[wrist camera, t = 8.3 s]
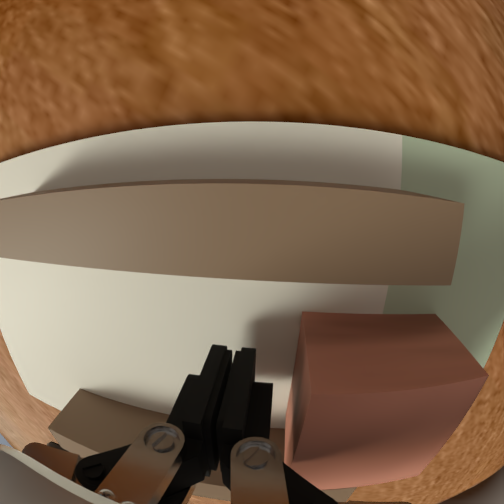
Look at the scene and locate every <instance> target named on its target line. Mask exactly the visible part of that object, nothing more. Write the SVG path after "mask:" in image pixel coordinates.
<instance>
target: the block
mask: <svg viewBox="0 0 504 504" xmlns="http://www.w3.org/2000/svg"><path fill="white" fill-rule="evenodd" d="M488 376H489V375H488V374H487V373H486V371H485V370H484V369H483V368H482V366H481V365H480V364H479V363H478V361H477V360H476V359H475V358H474V357H473V355H472V354H471V353H470V352H469V351H468V350H467V348H466V347H465V346H464V345H463V344H462V343H461V341H460V340H459V339H458V338H457V337H456V336H455V335H454V333H453V332H452V331H451V330H450V329H449V328H448V327H447V326H446V325H445V323H444V322H443V321H442V320H441V319H440V318H439V317H438V316H437V315H436V314H352V313H324V312H304V311H302V316H301V324H300V331H299V338H298V345H297V351H296V358H295V364H294V370H293V376H292V382H291V388H290V393H289V399H288V404H287V410H286V416H285V453H284V463H285V464H286V465H287V466H289V467H290V468H291V469H293V470H294V471H295V472H296V473H298V474H299V475H300V476H302V477H303V478H304V479H306V480H307V481H308V482H310V483H311V484H313V485H314V486H315V487H317V488H318V489H320V490H327V489H341V488H351V487H360V486H367V485H374V484H380V483H386V482H391V481H396V480H401V479H405V478H409V477H414V476H418V475H419V474H420V473H421V472H422V471H423V469H424V468H425V467H426V466H427V465H428V464H429V463H430V461H431V460H432V459H433V458H434V457H435V456H436V454H437V453H438V452H439V451H440V449H441V448H442V447H443V446H444V444H445V443H446V442H447V440H448V439H449V438H450V436H451V435H452V434H453V432H454V431H455V429H456V428H457V427H458V425H459V424H460V422H461V421H462V419H463V418H464V416H465V415H466V413H467V412H468V410H469V409H470V407H471V405H472V404H473V402H474V401H475V399H476V397H477V396H478V394H479V392H480V390H481V389H482V387H483V385H484V383H485V381H486V380H487V378H488Z"/></svg>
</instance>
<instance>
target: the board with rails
mask: <svg viewBox="0 0 504 504" xmlns="http://www.w3.org/2000/svg"><path fill="white" fill-rule="evenodd" d="M302 311H304V312H324V313H352V314H436V315H437V316H438V317H439V318H440V319H441V320H442V321H443V322H444V323H445V325H446V326H447V327H448V328H449V329H450V330H451V331H452V332H453V333H454V335H455V336H456V337H457V338H458V339H459V340H460V341H461V343H462V344H463V345H464V346H465V347H466V348H467V350H468V351H469V352H470V353H471V354H472V355H473V357H474V358H475V359H476V360H477V361H478V363H479V364H480V365H481V366H482V368H484V366H485V364H486V362H487V360H488V357H489V355H490V353H491V351H492V348H493V346H494V344H495V341H496V339H497V336H498V334H499V331H500V328H501V326H502V323H503V320H504V162H501V161H498V160H495V159H493V158H490V157H486V156H483V155H480V154H477V153H474V152H470V151H467V150H464V149H460V148H456V147H453V146H449V145H445V144H441V143H437V142H432V141H428V140H424V139H419V138H414V137H409V136H404V135H399V134H393V133H387V132H381V131H375V130H368V129H360V128H352V127H344V126H334V125H323V124H310V123H292V122H213V123H196V124H183V125H172V126H162V127H153V128H145V129H138V130H131V131H124V132H118V133H112V134H107V135H101V136H96V137H91V138H86V139H82V140H77V141H73V142H69V143H65V144H61V145H57V146H53V147H49V148H45V149H42V150H38V151H35V152H32V153H28V154H25V155H22V156H19V157H16V158H13V159H10V160H7V161H4V162H1V163H0V329H1V332H2V335H3V337H4V340H5V342H6V345H7V347H8V350H9V352H10V354H11V357H12V359H13V361H14V364H15V366H16V368H17V370H18V372H19V374H20V376H21V378H22V380H23V382H24V384H25V386H26V388H27V390H28V392H29V394H30V395H32V396H34V397H36V398H37V399H39V400H41V401H43V402H45V403H47V404H49V405H51V406H53V407H55V408H57V409H59V410H61V412H60V413H59V415H58V416H57V417H56V418H55V420H54V421H53V422H52V423H51V425H50V426H49V427H48V429H49V430H50V432H51V433H52V435H53V436H54V438H55V439H56V440H57V442H58V443H59V445H60V446H61V447H62V448H63V449H65V450H67V451H69V452H71V453H75V454H79V456H80V457H82V458H85V457H87V456H91V455H95V454H98V453H102V452H106V451H109V450H113V449H116V448H119V447H123V446H126V445H129V444H132V443H133V442H134V440H135V439H136V438H137V436H138V435H139V434H140V432H141V431H142V430H143V429H144V428H145V427H147V426H149V425H151V424H154V423H166V421H167V419H168V417H169V415H170V413H171V410H172V408H173V406H174V404H175V402H176V399H177V397H178V395H179V393H180V391H181V388H182V386H183V384H184V382H185V380H186V378H187V376H188V375H189V374H194V375H200V373H201V371H202V368H203V366H204V363H205V361H206V358H207V356H208V353H209V351H210V348H211V346H212V344H215V345H224V346H227V350H232V363H233V359H234V355H235V352H236V350H237V351H241V348H242V347H245V348H256V367H255V382H266V383H273V396H272V410H271V424H270V437H269V440H271V441H272V442H274V443H275V444H276V445H277V446H278V447H279V449H280V452H281V456H282V462H284V453H285V416H286V410H287V404H288V399H289V393H290V388H291V382H292V376H293V370H294V364H295V358H296V351H297V345H298V338H299V331H300V324H301V316H302ZM356 488H357V487H351V488H341V489H327V490H321V491H323V492H324V493H326V494H327V495H328V496H330V497H331V498H333V499H334V500H335V501H336V502H346V501H347V499H348V498H349V497H350V496H351V494H352V493H353V492H354V490H355V489H356ZM192 495H196V496H201V497H206V498H212V499H218V500H225V501H231V491H230V490H229V489H228V488H227V487H226V486H225V485H224V484H223V481H222V473H221V471H220V463H219V464H218V468H217V471H214V470H211V474H210V477H207V476H205V479H204V480H203V481H201V482H199V483H197V484H196V488H195V490H194V492H193V494H192Z"/></svg>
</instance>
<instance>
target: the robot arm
mask: <svg viewBox="0 0 504 504" xmlns="http://www.w3.org/2000/svg"><path fill="white" fill-rule="evenodd" d="M255 367H256V348H245V347H242V348H241V351H237V350H236V352H235V355H234V359H233V363H232V350H227V346H224V345H215V344H212V346H211V348H210V351H209V353H208V356H207V358H206V361H205V363H204V366H203V368H202V371H201V373H200V375H194V374H189V375H188V376H187V378H186V380H185V382H184V384H183V386H182V388H181V391H180V393H179V395H178V397H177V399H176V402H175V404H174V406H173V408H172V410H171V413H170V415H169V417H168V419H167V421H166V423H154V424H151V425H149V426H147V427H145V428H144V429H143V430H142V431H141V432H140V434H139V435H138V436H137V438H136V439H135V440H134V442H133V443H132V444H129V445H126V446H123V447H119V448H116V449H113V450H109V451H106V452H102V453H98V454H95V455H91V456H87V457H85V458H82V457H80V456H79V454H75V453H71V452H67V451H64V450H60V449H57V448H53V447H50V446H47V445H44V444H41V443H36V442H34V443H29V444H28V445H26V446H25V448H24V449H23V451H22V452H20V451H18V450H16V449H13V448H11V447H8V446H5V445H1V444H0V504H187V503H188V501H189V499H190V498H191V496H192V494H193V492H194V490H195V488H196V484H197V483H199V482H201V481H203V480H204V479H205V476H207V477H210V474H211V470H214V471H217V468H218V464H219V463H220V471H221V473H222V481H223V484H224V485H225V486H226V487H227V488H228V489H229V490H230V491H231V504H411V503H409V502H364V501H348V502H336V501H335V500H334V499H333V498H331V497H330V496H328V495H327V494H326V493H324V492H323V491H321V490H320V489H318V488H317V487H315V486H314V485H313V484H311V483H310V482H308V481H307V480H306V479H304V478H303V477H302V476H300V475H299V474H298V473H296V472H295V471H294V470H293V469H291V468H290V467H289V466H287V465H286V464H285V463H284V462H282V456H281V452H280V449H279V447H278V446H277V445H276V444H275V443H274V442H272V441H271V440H269V437H270V424H271V410H272V396H273V383H266V382H255Z"/></svg>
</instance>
